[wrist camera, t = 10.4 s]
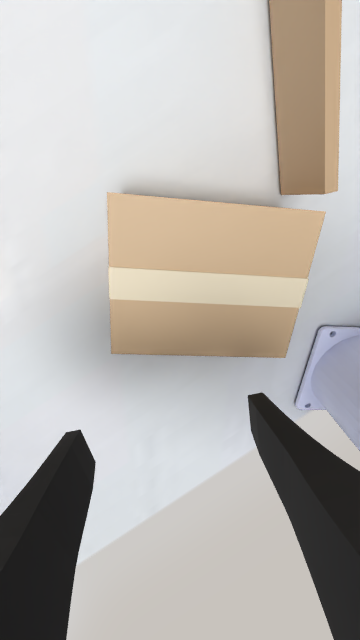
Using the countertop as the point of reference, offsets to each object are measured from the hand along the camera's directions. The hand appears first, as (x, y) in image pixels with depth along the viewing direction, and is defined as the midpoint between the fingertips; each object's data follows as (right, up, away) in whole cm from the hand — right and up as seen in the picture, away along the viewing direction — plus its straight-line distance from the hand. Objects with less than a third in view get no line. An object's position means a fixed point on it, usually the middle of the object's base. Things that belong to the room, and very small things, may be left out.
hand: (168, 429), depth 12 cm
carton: (+2, +8, +7) cm, 11 cm away
